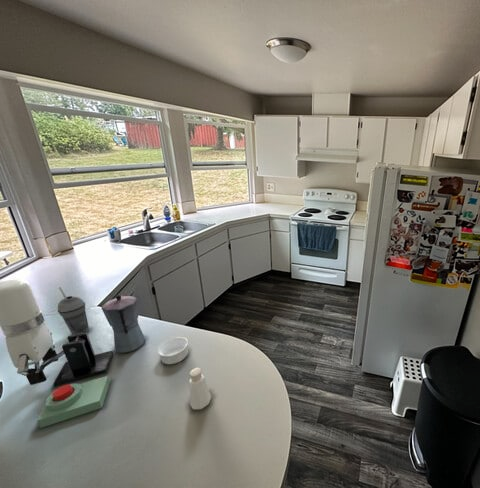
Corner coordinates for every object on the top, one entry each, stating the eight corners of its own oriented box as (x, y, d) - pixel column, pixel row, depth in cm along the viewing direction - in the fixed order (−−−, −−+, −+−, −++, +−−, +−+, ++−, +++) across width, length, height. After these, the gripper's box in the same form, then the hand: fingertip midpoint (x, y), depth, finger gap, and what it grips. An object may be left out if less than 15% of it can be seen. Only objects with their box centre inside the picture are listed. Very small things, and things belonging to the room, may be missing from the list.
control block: (40, 428, 63) (34, 415, 61) (56, 398, 70) (50, 386, 68) (101, 408, 68) (97, 395, 66) (110, 382, 75) (106, 371, 74)
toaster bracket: (54, 387, 73) (40, 355, 69) (66, 365, 81) (54, 335, 77) (106, 372, 79) (95, 342, 75) (113, 353, 86) (104, 324, 82)
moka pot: (142, 328, 98) (131, 284, 91) (152, 350, 88) (140, 301, 81) (111, 340, 92) (97, 292, 85) (118, 364, 82) (102, 313, 75)
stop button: (51, 403, 64) (49, 398, 64) (57, 392, 67) (55, 387, 67) (70, 398, 66) (68, 393, 65) (75, 387, 69) (73, 382, 68)
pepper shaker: (200, 413, 68) (195, 383, 64) (185, 406, 69) (179, 376, 65) (215, 396, 72) (211, 367, 69) (201, 390, 74) (195, 361, 70)
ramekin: (174, 369, 81) (171, 358, 79) (153, 361, 83) (151, 351, 82) (195, 350, 89) (193, 340, 87) (176, 344, 91) (174, 334, 90)
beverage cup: (92, 335, 94) (76, 288, 87) (65, 342, 90) (46, 294, 83) (95, 324, 100) (80, 279, 93) (70, 330, 96) (52, 284, 89)
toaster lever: (40, 375, 73) (32, 371, 71) (48, 363, 77) (40, 359, 75) (81, 348, 75) (74, 343, 74) (87, 337, 79) (80, 333, 78)
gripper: (21, 309, 74) (42, 355, 80) (-19, 348, 60) (10, 401, 66) (55, 303, 78) (73, 348, 84) (25, 338, 63) (49, 389, 69)
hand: (45, 371), depth 75 cm, fingers open, 7 cm apart
